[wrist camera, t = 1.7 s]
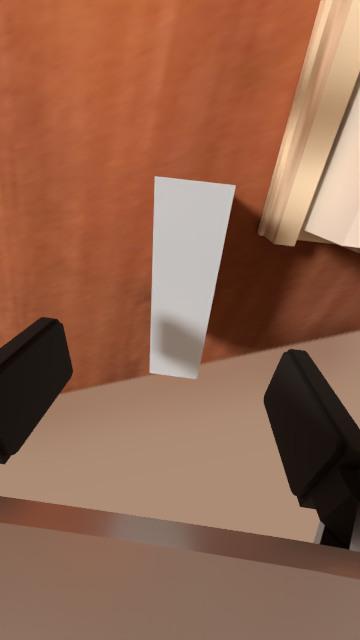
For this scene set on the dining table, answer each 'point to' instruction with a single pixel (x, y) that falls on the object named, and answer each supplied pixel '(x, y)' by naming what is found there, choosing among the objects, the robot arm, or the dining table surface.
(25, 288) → the dining table surface
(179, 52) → the dining table surface
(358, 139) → the cream foam brick
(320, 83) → the rack
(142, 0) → the dining table surface
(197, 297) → the white rectangular block
